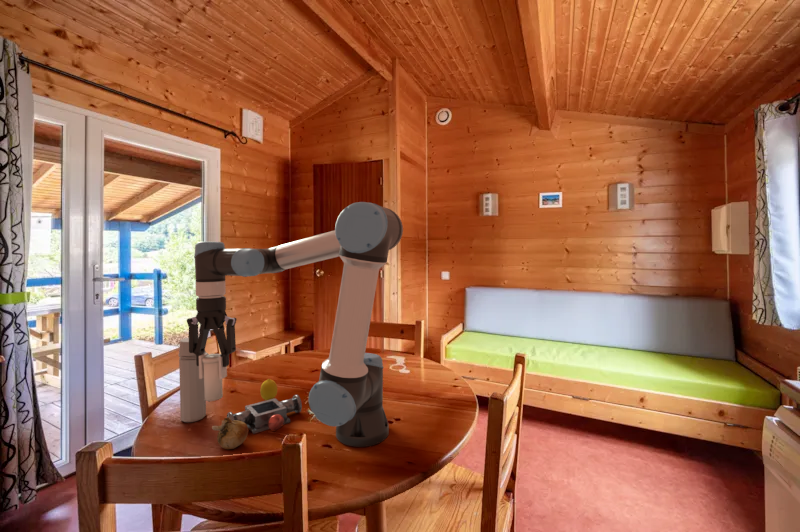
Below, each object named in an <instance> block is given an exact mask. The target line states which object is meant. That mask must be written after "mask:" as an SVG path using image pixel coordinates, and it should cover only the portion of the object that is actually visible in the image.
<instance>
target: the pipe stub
mask: <svg viewBox="0 0 800 532" xmlns="http://www.w3.org/2000/svg"><path fill="white" fill-rule="evenodd" d="M220 355H221V353H212V354H209V355H206V356H204V357H202V362H203V363H204V398H205V401H206V402H208V401H210V402H215V401H218V400H220V399H222V398H223V394H224V392H223V379H219V358H218V356H220Z"/></svg>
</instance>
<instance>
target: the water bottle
mask: <svg viewBox="0 0 800 532" xmlns="http://www.w3.org/2000/svg"><path fill="white" fill-rule="evenodd" d="M198 338H199V336H198ZM178 349H179V350H178V354H177V355H178V358H179V359H178V363H179V365H178V366H179V367H178V368H179V371H178V372H179V400H180V401H179V407H180V408H179V409H180V421H182V422H184V423H194V422H198V421H200V420H202V419H204V418H205V416H206V415H207V402H209V403H210V402H211V401H205V398H204V378H202V379H199V366H197V365H196V355H195V354H194V353H190V352H189V337H185V338H182V339H180V340H179V348H178ZM204 353H207V355H210V354H209V352H207V351H206V352H204ZM204 353H203V354H204Z"/></svg>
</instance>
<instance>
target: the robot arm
mask: <svg viewBox="0 0 800 532" xmlns="http://www.w3.org/2000/svg"><path fill="white" fill-rule="evenodd" d="M403 226H404V225H403V222H402V220H401V218H400V217H399V215H398V214H397V213H396V212H395V211H394V210H392V209H390V208H387V207H384V206H381V205H379V204H377V203H374V202H373V203H372V202H366V201H359V202H353V203H351V204H349V205H348V206H345V207H344V209H342V211H340V213H339V215H338V216H337V219H336V221H335V227H334V230H331V231H328V232H324V233H319V234H316V235H313V236H309V237H305V238H302V239H301V238H300V239H298V240H294V241H291V242H287V243H283V244H280V245H276V246H273V247H272V246H271V247H269V248H251V247H249V248H248V247H244V248H226V247H225V245H226V244H225V243H224V242H223V241H198V242H196V243H195V245H194V257H193V258H194V274H195V275H194V276H195V297H197V298H195V307H196V309H195V310H196V311H197V312H196V314H195V316H191V317H190V318H186V323H187V326H188V338H189V352H190V353H194V354H195V355H196V365H197V366H199V379H202V378H204V363H203V362H202V357H204V356H206V355H207V353H208V352H207V351H206V345H207V342H208V338H209V332H210V331H211V330H212V332H213V333H214V334H215V337H216V340H217V345H218V348H219V351H220V354H221V355H220V356H218V358H219V379H222V380H223V379H225V378H226V377H228V366H230V354H232V353H234V352H236V350H237V347H236V323H237V321H238V319H237V318H236V317H230V316H228V314H227V312H226V309H227V297H226V296H224V295H226V293H227V292H226V290H227V289H226V288H227V287H226V276H227V277H229V276H231V277H244V278H246V277H256V276H258V275H263V274H277V273H282V272H283V271H285V270H288V269H293V268H296V267H301V266H305V265H309V264H313V263H317V262H322V261H325V260H330V259H334V258H338V257H339V258H340V260H342V261H341V262H342V263H343V268H342V275H341V281H340V287H339V295H338V300H337V307H336V310H335V311H336V312H335V319H334V324H333V331H332V338H331V344H330V350H329V356H328V357H327V358H326V359H325V360H323V361H322V364H321V366H320V367H321V368H320V373H319V379H318V381H317V382H315V384H313V386H312V387H311V389H310V391H309V394H308V404H309V405H308V406H309V408H310V411H311V412H312V413H313V414H314V416H315V419H317V420H318V421H319V422H320V423H322V424H324V425H327V426H329V427H335V437H336V439H337V440H338V441H339V442H340V443H342V444H343V445H346V446H349V447H354V448H355V447H357V448H358V447H359V448H360V447H361V448H363V447H370V446H374V445H377V444H380V443H382V442H384V440H386V439H387V438H388V436H389V434H390V433H389V429H390V428H389V422H388V418H387V416H386V413H385V409H384V405H383V404H384V403H383V402H384V400H383V399H384V398H383V397H384V396H383V394H384V393H383V392H384V390H383V389H384V388H383V387H384V386H383V385H384V365H383V358H382V357H381V355H379V354H375V353H370V352H366V349H367V345H368V344H367V343H368V342H367V341H368V337H369V330H370V325H371V319H372V314H373V309H374V303H375V302H374V301H375V296H376V290H377V286H378V285H377V284H378V279H379V272H380V269H382V268H383V267H384V266H385V265H386V264H387V263H388V258H389V251H390V250H392V249H394V248H395V247H397V245H398V244H399V243H400V242H401V239H402V237H403V234H404V233H403V232H404V227H403ZM199 324H200V325H199ZM224 324H225V326H226V327H225V326H224ZM198 337H199V338H198ZM204 352H207V353H204ZM203 353H204V354H203Z"/></svg>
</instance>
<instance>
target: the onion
mask: <svg viewBox="0 0 800 532" xmlns="http://www.w3.org/2000/svg"><path fill="white" fill-rule="evenodd" d="M211 429H212V430H213V431H218V433H217V443H218V446H220V447H221V448H222V449H224V450H233V449H236V448H237V447H239V446H241V445H243V443H244V441H246V440H247V437H248V434H249V428H248V426H247V425H246V424H245V423H244V422H242V421H238V420H234V421H232V420H230V418H227V417H224V418H223V419H222V420H221V424H220V425H212V426H211Z"/></svg>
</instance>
